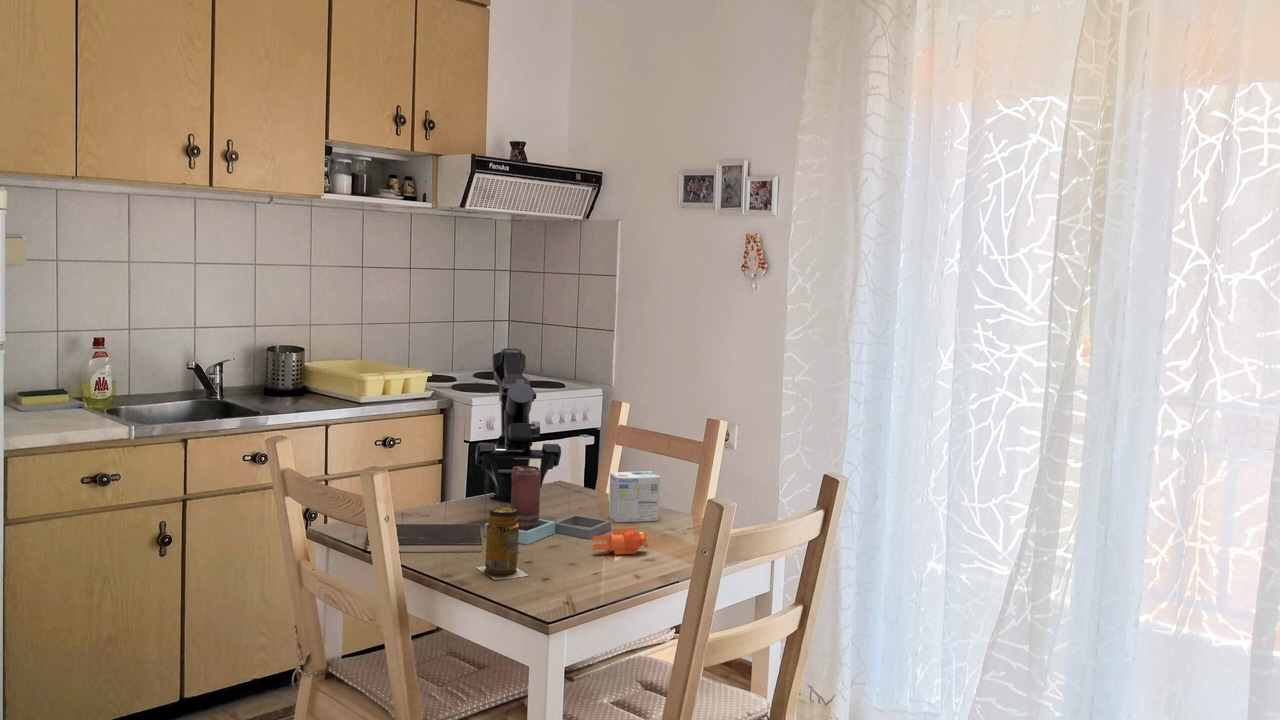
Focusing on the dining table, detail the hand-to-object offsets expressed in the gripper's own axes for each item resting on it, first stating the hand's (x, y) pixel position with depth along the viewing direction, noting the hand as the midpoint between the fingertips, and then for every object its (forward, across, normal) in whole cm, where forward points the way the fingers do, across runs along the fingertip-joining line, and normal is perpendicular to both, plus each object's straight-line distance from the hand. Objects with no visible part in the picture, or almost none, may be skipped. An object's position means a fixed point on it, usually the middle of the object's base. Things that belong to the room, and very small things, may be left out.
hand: (519, 487), depth 225 cm
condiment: (+28, -6, -16) cm, 33 cm away
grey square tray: (+8, +14, +5) cm, 17 cm away
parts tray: (+10, 0, +3) cm, 11 cm away
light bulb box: (+1, +28, +13) cm, 31 cm away
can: (+10, +1, +3) cm, 10 cm away
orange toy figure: (+20, +19, -7) cm, 28 cm away
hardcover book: (+14, -20, 0) cm, 24 cm away
